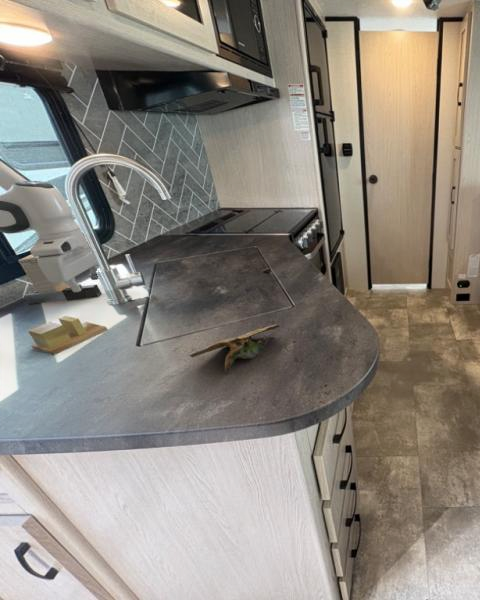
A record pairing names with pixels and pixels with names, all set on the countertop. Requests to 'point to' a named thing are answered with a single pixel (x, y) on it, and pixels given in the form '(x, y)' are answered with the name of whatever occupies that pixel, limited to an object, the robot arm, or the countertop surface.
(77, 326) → the butter slice
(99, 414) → the countertop surface
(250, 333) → the dried leafy seed pod
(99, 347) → the countertop surface
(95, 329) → the butter board
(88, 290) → the knife
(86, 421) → the countertop surface
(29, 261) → the supplement box
